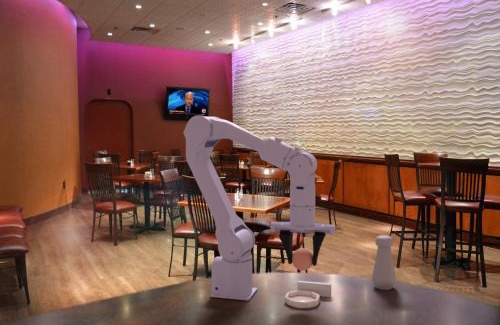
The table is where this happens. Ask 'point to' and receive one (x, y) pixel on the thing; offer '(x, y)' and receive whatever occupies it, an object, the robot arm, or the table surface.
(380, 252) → the salt shaker
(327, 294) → the wall
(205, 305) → the table surface
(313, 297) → the coaster
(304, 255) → the ball
